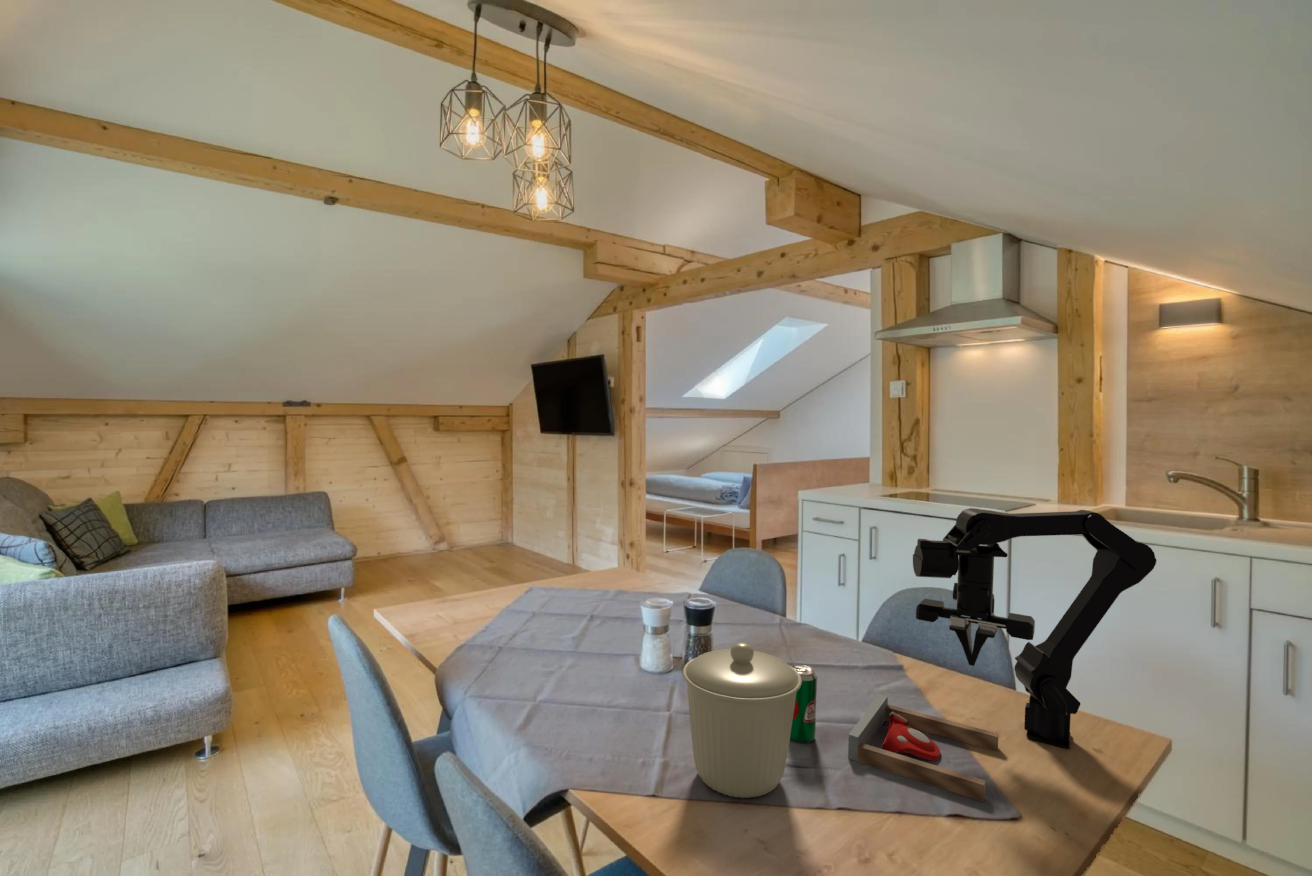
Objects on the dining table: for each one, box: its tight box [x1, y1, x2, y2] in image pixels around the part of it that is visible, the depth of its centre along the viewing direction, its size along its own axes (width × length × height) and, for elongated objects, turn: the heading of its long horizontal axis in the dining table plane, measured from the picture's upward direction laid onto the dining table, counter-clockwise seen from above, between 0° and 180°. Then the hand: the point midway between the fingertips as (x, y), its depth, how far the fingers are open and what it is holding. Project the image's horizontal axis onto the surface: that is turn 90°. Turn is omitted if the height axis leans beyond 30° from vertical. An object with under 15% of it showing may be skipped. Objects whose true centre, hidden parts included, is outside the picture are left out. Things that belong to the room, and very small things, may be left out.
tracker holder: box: [881, 712, 941, 762], centre depth 109 cm, size 12×4×10 cm
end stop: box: [847, 694, 889, 762], centre depth 111 cm, size 2×19×4 cm, turn 146°
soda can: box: [790, 664, 818, 744], centre depth 110 cm, size 5×5×12 cm
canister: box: [682, 641, 802, 799], centre depth 97 cm, size 18×18×21 cm
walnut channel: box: [856, 704, 1000, 803], centre depth 106 cm, size 18×19×2 cm
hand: (971, 664), depth 114 cm, fingers closed
